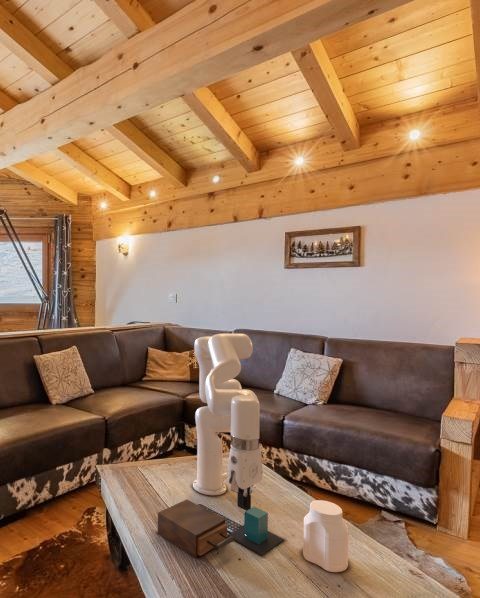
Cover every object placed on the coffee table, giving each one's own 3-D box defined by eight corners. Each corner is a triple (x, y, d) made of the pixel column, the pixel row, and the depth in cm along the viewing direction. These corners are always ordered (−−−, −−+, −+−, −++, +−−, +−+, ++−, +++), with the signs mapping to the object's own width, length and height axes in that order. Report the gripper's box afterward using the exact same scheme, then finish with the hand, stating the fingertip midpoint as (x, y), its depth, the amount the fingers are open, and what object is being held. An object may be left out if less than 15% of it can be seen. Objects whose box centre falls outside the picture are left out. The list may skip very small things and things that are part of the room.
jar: (353, 562, 120) (354, 510, 119) (337, 576, 114) (338, 521, 113) (313, 543, 129) (314, 494, 128) (297, 555, 123) (297, 504, 122)
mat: (249, 523, 139) (249, 522, 139) (284, 540, 130) (284, 539, 130) (227, 536, 132) (227, 535, 132) (261, 555, 123) (261, 554, 123)
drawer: (239, 546, 125) (239, 530, 125) (212, 563, 118) (212, 546, 118) (190, 519, 140) (190, 505, 140) (164, 532, 132) (164, 517, 132)
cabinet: (225, 540, 130) (225, 519, 130) (195, 557, 122) (195, 535, 121) (186, 518, 142) (186, 499, 142) (157, 533, 134) (157, 512, 134)
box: (253, 530, 134) (253, 506, 134) (267, 538, 130) (268, 512, 130) (244, 536, 131) (244, 511, 131) (258, 544, 127) (258, 518, 127)
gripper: (240, 452, 108) (239, 523, 109) (272, 439, 118) (271, 504, 118) (216, 444, 114) (215, 511, 115) (248, 432, 123) (248, 494, 124)
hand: (244, 507), depth 116 cm, fingers closed
